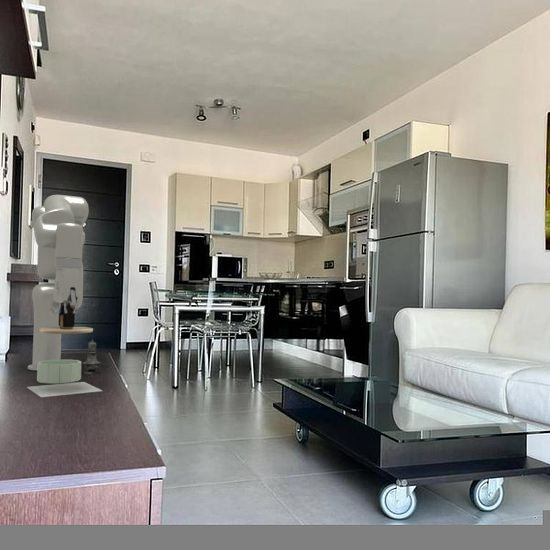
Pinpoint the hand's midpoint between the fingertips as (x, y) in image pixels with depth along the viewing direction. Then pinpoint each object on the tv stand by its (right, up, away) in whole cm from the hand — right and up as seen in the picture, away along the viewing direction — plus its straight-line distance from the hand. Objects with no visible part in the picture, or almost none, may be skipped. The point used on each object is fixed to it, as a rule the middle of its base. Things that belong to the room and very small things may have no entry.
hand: (66, 325), depth 155 cm
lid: (0, -2, 0) cm, 2 cm away
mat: (0, -19, -1) cm, 19 cm away
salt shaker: (-4, -20, +31) cm, 38 cm away
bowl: (-8, -19, +14) cm, 25 cm away
